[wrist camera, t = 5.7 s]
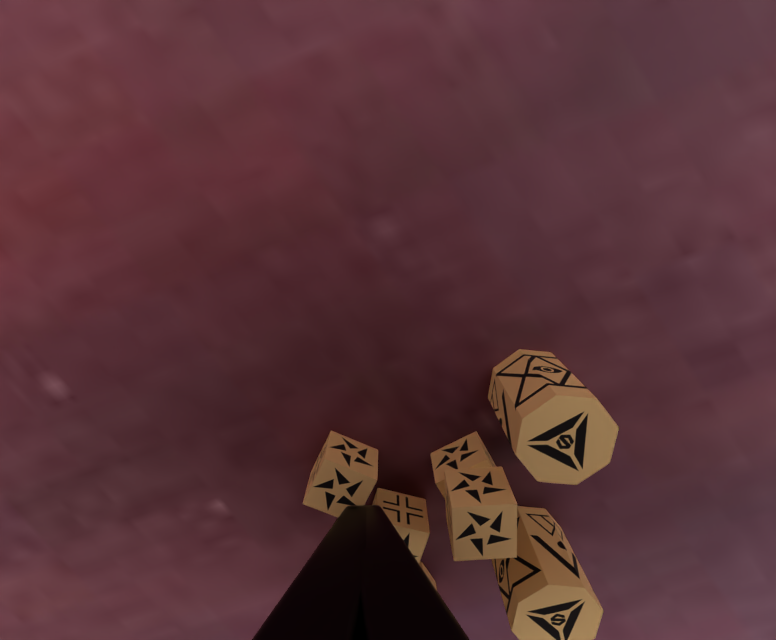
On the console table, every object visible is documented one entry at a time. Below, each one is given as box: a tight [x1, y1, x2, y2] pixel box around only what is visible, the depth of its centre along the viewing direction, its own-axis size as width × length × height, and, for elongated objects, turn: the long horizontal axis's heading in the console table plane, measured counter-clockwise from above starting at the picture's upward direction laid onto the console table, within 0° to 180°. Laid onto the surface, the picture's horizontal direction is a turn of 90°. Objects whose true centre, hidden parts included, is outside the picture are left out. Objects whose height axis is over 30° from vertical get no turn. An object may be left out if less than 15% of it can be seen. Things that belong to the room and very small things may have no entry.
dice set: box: [303, 349, 619, 640], centre depth 8 cm, size 5×5×2 cm
